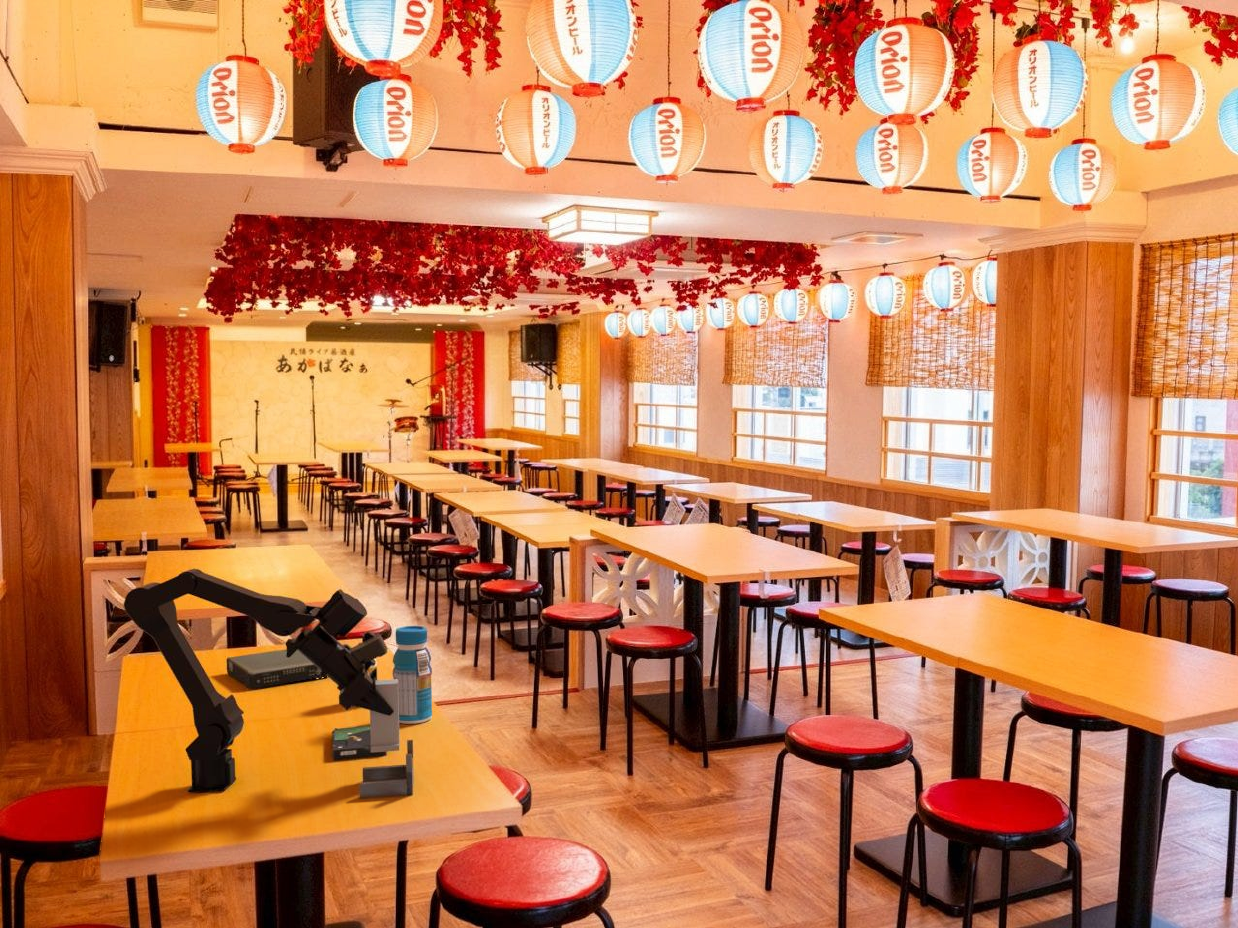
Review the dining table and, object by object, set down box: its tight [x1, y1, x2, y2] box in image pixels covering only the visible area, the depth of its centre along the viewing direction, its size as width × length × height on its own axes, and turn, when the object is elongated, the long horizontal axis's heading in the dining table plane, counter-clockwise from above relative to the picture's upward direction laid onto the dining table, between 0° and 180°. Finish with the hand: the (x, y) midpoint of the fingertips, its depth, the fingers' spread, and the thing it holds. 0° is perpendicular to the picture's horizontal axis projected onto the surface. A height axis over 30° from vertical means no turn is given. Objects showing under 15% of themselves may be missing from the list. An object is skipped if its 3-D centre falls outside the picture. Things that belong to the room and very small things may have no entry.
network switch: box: [226, 648, 328, 691], centre depth 272 cm, size 23×24×5 cm
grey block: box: [369, 678, 401, 753], centre depth 193 cm, size 5×5×12 cm
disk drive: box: [331, 724, 388, 762], centre depth 213 cm, size 10×3×15 cm
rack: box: [358, 739, 415, 799], centre depth 189 cm, size 9×9×7 cm
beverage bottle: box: [392, 625, 433, 725], centre depth 231 cm, size 8×8×20 cm
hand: (392, 710), depth 193 cm, fingers closed on grey block, 3 cm apart
